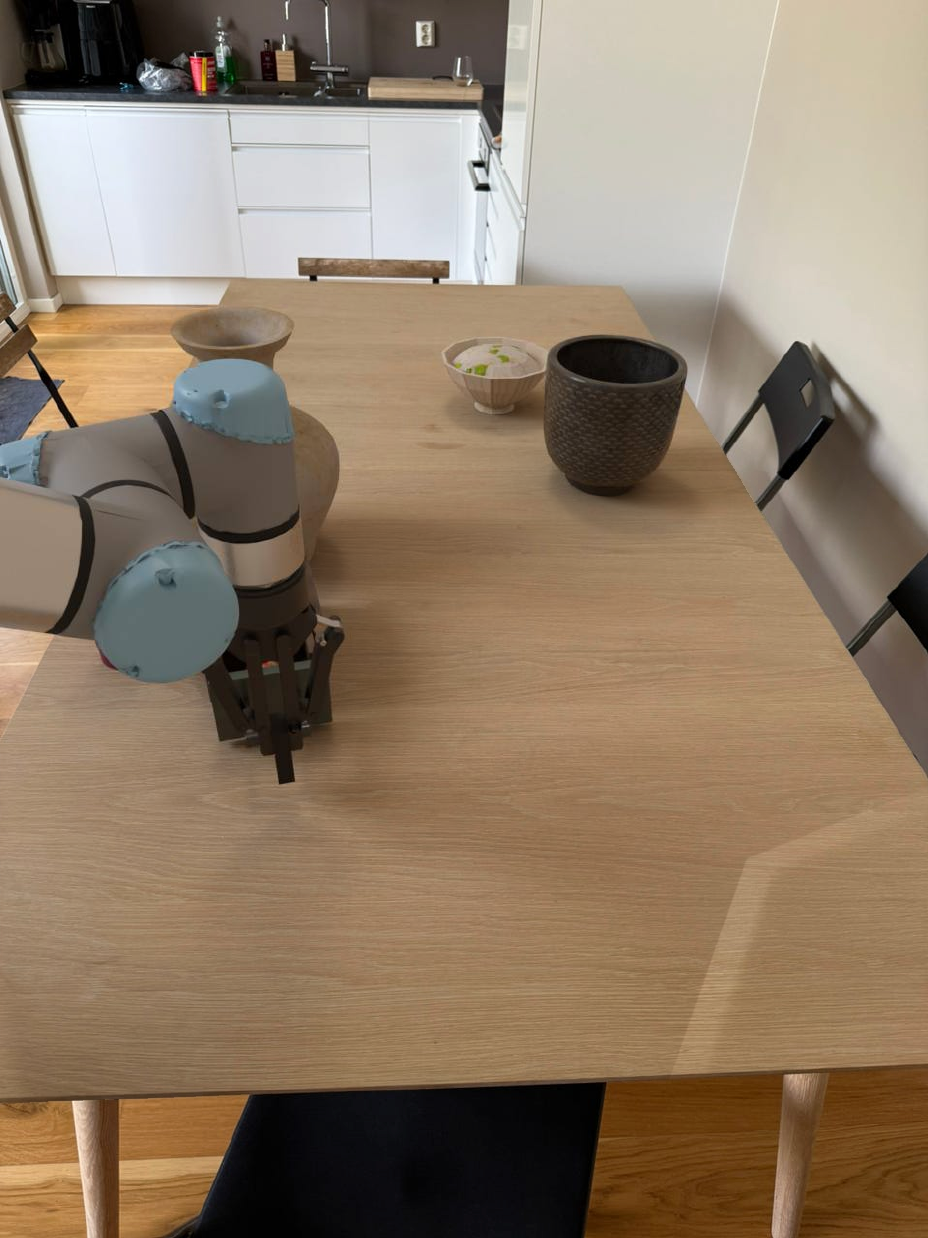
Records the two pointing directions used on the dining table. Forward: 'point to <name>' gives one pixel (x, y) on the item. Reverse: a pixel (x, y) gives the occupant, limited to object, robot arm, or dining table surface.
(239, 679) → the drawer
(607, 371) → the planter
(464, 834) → the dining table surface
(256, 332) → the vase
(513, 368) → the bowl
